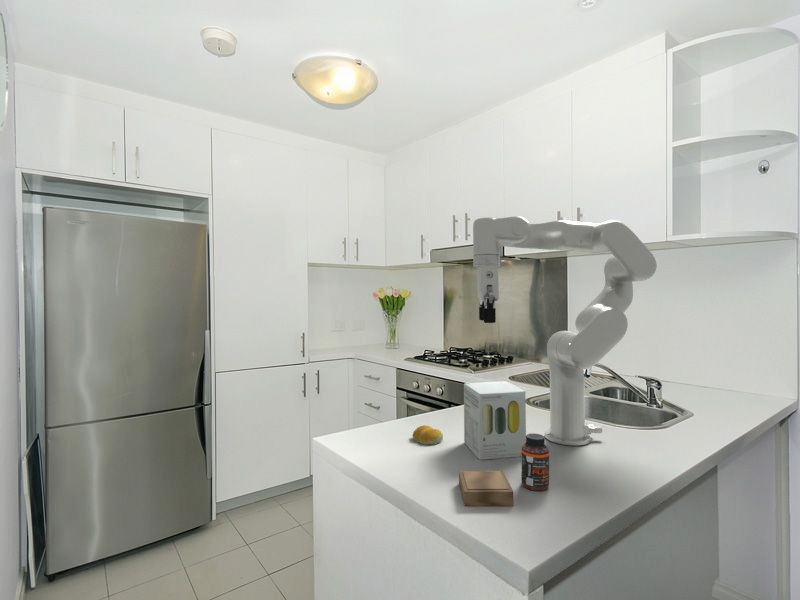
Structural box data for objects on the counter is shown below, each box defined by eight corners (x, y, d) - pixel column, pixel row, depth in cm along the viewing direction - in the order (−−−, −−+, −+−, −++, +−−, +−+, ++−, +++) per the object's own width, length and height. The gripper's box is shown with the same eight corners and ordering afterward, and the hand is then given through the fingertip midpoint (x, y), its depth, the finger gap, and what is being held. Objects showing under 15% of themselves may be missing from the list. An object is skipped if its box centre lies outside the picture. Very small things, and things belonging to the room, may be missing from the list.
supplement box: (479, 460, 111) (478, 393, 110) (463, 442, 124) (462, 382, 123) (527, 456, 113) (526, 390, 113) (506, 439, 126) (506, 380, 126)
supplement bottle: (533, 494, 92) (533, 442, 92) (515, 483, 98) (515, 433, 98) (555, 488, 95) (554, 438, 94) (536, 478, 100) (536, 430, 100)
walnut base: (503, 483, 97) (502, 469, 97) (513, 506, 87) (513, 490, 87) (459, 483, 98) (458, 470, 98) (464, 506, 88) (464, 490, 88)
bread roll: (429, 448, 121) (429, 434, 121) (408, 439, 128) (408, 426, 127) (449, 440, 126) (449, 427, 126) (428, 433, 133) (428, 420, 133)
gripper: (505, 259, 114) (505, 323, 114) (494, 263, 131) (495, 319, 131) (477, 259, 114) (477, 324, 114) (470, 263, 131) (470, 319, 132)
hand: (487, 321), depth 123 cm, fingers open, 9 cm apart
